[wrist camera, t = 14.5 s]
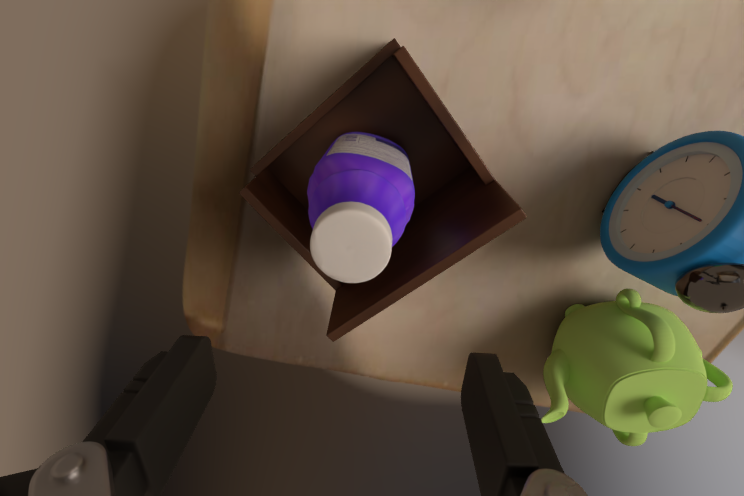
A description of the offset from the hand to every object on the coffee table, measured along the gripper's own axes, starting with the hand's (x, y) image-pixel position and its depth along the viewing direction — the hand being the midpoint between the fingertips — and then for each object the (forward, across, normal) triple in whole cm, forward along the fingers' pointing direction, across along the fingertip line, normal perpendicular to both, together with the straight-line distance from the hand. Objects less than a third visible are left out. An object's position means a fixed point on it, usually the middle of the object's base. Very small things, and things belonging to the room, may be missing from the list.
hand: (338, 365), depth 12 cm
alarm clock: (+29, -28, +2) cm, 40 cm away
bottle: (+25, 0, 0) cm, 25 cm away
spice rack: (+29, 0, 0) cm, 29 cm away
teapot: (+29, -28, +20) cm, 45 cm away
